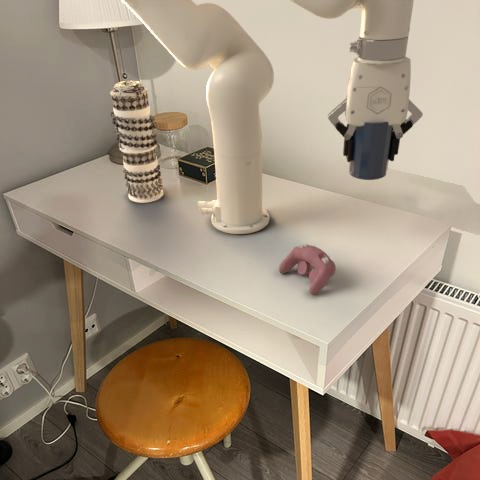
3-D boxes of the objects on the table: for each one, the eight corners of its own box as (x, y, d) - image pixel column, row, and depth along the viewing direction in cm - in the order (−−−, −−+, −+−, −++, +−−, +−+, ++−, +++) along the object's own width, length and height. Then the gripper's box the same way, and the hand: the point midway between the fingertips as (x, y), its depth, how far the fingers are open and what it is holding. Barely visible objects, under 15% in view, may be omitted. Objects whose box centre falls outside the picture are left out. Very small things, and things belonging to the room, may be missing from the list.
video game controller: (327, 297, 85) (344, 261, 83) (311, 296, 82) (328, 258, 80) (291, 272, 92) (306, 238, 89) (275, 271, 89) (289, 235, 86)
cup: (350, 180, 88) (356, 123, 82) (347, 166, 93) (352, 112, 87) (389, 179, 87) (397, 122, 81) (383, 165, 93) (391, 111, 87)
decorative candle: (119, 195, 118) (97, 84, 102) (151, 184, 122) (134, 76, 107) (140, 207, 112) (119, 91, 97) (172, 194, 117) (158, 82, 101)
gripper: (329, 56, 76) (322, 167, 87) (443, 51, 74) (422, 165, 85) (326, 47, 81) (320, 152, 93) (432, 42, 80) (414, 150, 91)
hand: (369, 158), depth 89 cm, fingers closed on cup, 6 cm apart
